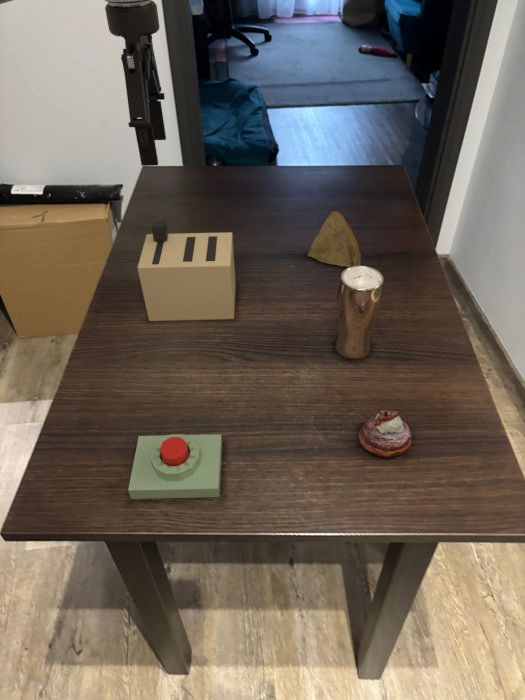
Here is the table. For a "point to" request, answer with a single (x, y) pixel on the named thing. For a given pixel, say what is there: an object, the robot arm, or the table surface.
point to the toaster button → (159, 231)
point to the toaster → (188, 277)
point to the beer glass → (357, 310)
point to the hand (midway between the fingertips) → (154, 151)
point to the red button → (174, 451)
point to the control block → (177, 469)
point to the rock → (336, 243)
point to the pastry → (385, 435)
